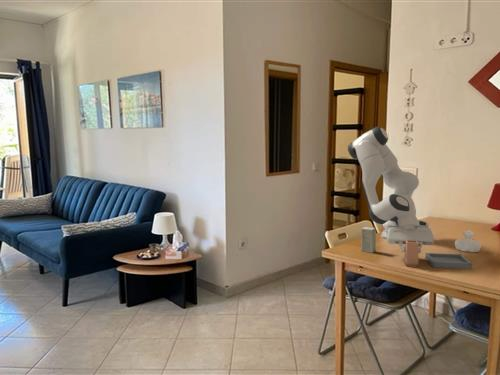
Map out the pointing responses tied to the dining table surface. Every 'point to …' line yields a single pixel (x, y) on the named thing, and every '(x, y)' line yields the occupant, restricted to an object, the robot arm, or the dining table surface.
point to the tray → (448, 260)
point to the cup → (411, 253)
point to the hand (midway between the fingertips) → (411, 251)
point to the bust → (468, 243)
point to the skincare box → (368, 239)
